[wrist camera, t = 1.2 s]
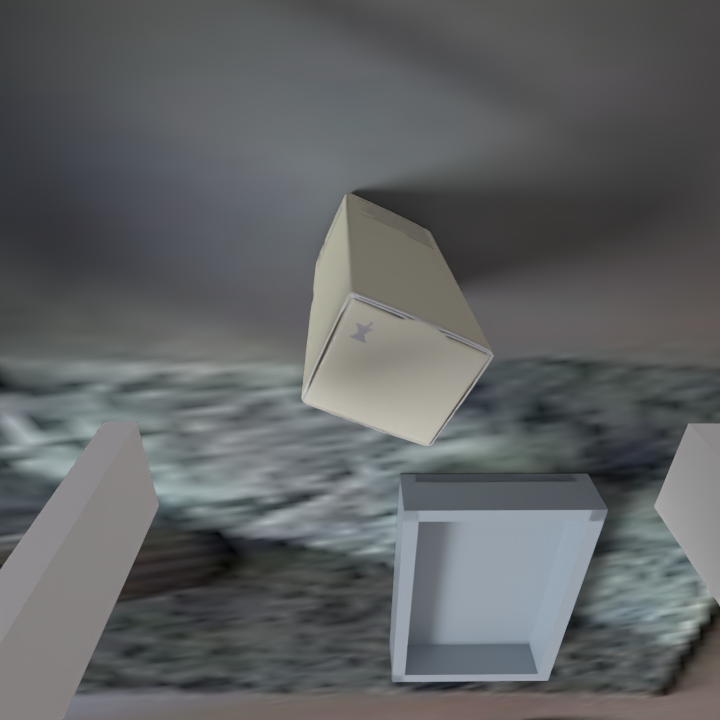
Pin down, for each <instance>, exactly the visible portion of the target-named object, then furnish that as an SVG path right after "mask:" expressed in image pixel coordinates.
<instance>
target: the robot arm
mask: <svg viewBox="0 0 720 720" xmlns="http://www.w3.org/2000/svg"><path fill="white" fill-rule="evenodd" d="M158 507H159V503H158V500H157V496H156V492H155V488H154V485H153V481H152V477H151V474H150V470H149V466H148V463H147V459H146V455H145V451H144V448H143V444H142V440H141V437H140V433H139V429H138V426H137V422H104V423H103V424H102V426H101V427H100V429H99V430H98V431H97V433H96V434H95V436H94V437H93V439H92V440H91V441H90V443H89V444H88V446H87V447H86V449H85V450H84V451H83V453H82V454H81V456H80V457H79V458H78V460H77V461H76V463H75V464H74V466H73V467H72V468H71V470H70V471H69V473H68V474H67V475H66V477H65V478H64V480H63V481H62V483H61V484H60V485H59V487H58V488H57V490H56V491H55V493H54V494H53V495H52V497H51V498H50V500H49V501H48V502H47V504H46V505H45V507H44V508H43V510H42V511H41V512H40V514H39V515H38V517H37V518H36V519H35V521H34V522H33V524H32V525H31V527H30V528H29V529H28V531H27V532H26V534H25V535H24V537H23V538H22V539H21V541H20V542H19V544H18V545H17V546H16V548H15V549H14V551H13V552H12V554H11V555H10V556H9V558H8V559H7V561H6V562H5V563H4V565H0V720H63V719H64V716H65V714H66V712H67V710H68V707H69V705H70V703H71V701H72V699H73V696H74V694H75V692H76V690H77V687H78V685H79V683H80V681H81V678H82V676H83V674H84V672H85V670H86V667H87V665H88V663H89V661H90V658H91V656H92V654H93V652H94V650H95V647H96V645H97V643H98V641H99V638H100V636H101V634H102V632H103V629H104V627H105V625H106V623H107V621H108V618H109V616H110V614H111V612H112V609H113V607H114V605H115V603H116V601H117V598H118V596H119V594H120V592H121V589H122V587H123V585H124V583H125V580H126V578H127V576H128V574H129V572H130V569H131V567H132V565H133V563H134V560H135V558H136V556H137V554H138V551H139V549H140V547H141V545H142V543H143V540H144V538H145V536H146V534H147V531H148V529H149V527H150V525H151V523H152V520H153V518H154V516H155V514H156V511H157V509H158ZM654 507H655V509H656V510H657V512H658V513H659V515H660V516H661V518H662V519H663V521H664V522H665V524H666V525H667V527H668V528H669V530H670V531H671V533H672V534H673V536H674V537H675V539H676V540H677V542H678V543H679V545H680V547H681V548H682V550H683V551H684V553H685V554H686V556H687V557H688V559H689V560H690V562H691V563H692V565H693V566H694V568H695V569H696V571H697V572H698V574H699V575H700V577H701V578H702V580H703V581H704V583H705V584H706V586H707V587H708V589H709V590H710V592H711V593H712V595H713V596H714V598H715V599H716V601H717V602H718V604H719V605H720V424H688V426H687V428H686V431H685V433H684V436H683V438H682V440H681V443H680V445H679V448H678V450H677V452H676V455H675V457H674V460H673V462H672V465H671V467H670V469H669V472H668V474H667V477H666V479H665V481H664V484H663V486H662V489H661V491H660V494H659V496H658V498H657V501H656V503H655V506H654Z"/></svg>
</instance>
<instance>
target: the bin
mask: <svg viewBox="0 0 720 720" xmlns="http://www.w3.org/2000/svg"><path fill="white" fill-rule="evenodd" d="M607 512H608V509H607V507H606V505H605V503H604V502H603V500H602V498H601V496H600V494H599V493H598V491H597V489H596V487H595V486H594V484H593V482H592V480H591V479H590V477H589V475H588V474H400V482H399V498H398V515H397V531H396V548H395V564H394V581H393V598H392V614H391V631H390V654H391V671H392V682H432V681H548V679H549V676H550V673H551V670H552V667H553V664H554V662H555V659H556V656H557V653H558V650H559V647H560V645H561V642H562V639H563V636H564V633H565V631H566V628H567V625H568V622H569V619H570V616H571V614H572V611H573V608H574V605H575V602H576V599H577V597H578V594H579V591H580V588H581V585H582V582H583V580H584V577H585V574H586V571H587V568H588V566H589V563H590V560H591V557H592V554H593V551H594V549H595V546H596V543H597V540H598V537H599V534H600V532H601V529H602V526H603V523H604V520H605V518H606V515H607Z"/></svg>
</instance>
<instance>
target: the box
mask: <svg viewBox="0 0 720 720" xmlns="http://www.w3.org/2000/svg"><path fill="white" fill-rule="evenodd" d="M493 357H494V352H493V350H492V349H491V347H490V345H489V343H488V341H487V339H486V338H485V336H484V334H483V332H482V330H481V328H480V326H479V324H478V322H477V320H476V319H475V317H474V315H473V313H472V311H471V309H470V307H469V305H468V303H467V302H466V300H465V298H464V296H463V294H462V292H461V290H460V288H459V286H458V284H457V282H456V280H455V278H454V276H453V274H452V273H451V271H450V269H449V267H448V265H447V263H446V261H445V259H444V257H443V256H442V254H441V252H440V250H439V248H438V246H437V244H436V242H435V240H434V238H433V236H432V234H431V233H430V231H428V230H427V229H425V228H423V227H421V226H419V225H417V224H415V223H413V222H411V221H410V220H407V219H405V218H403V217H401V216H399V215H397V214H395V213H393V212H391V211H389V210H387V209H385V208H382V207H380V206H378V205H376V204H374V203H371V202H369V201H367V200H365V199H363V198H360V197H358V196H356V195H353V194H351V193H346V194H345V196H344V198H343V201H342V203H341V205H340V207H339V209H338V211H337V214H336V216H335V218H334V220H333V223H332V225H331V227H330V230H329V232H328V234H327V237H326V239H325V242H324V244H323V246H322V249H321V252H320V254H319V257H318V260H317V263H316V270H315V278H314V287H313V298H312V306H311V313H310V323H309V331H308V341H307V349H306V358H305V367H304V378H303V388H302V397H301V398H302V400H303V402H304V403H306V404H308V405H311V406H313V407H316V408H319V409H321V410H324V411H327V412H329V413H331V414H334V415H337V416H340V417H343V418H345V419H348V420H351V421H353V422H356V423H359V424H362V425H365V426H367V427H370V428H373V429H376V430H379V431H381V432H385V433H388V434H391V435H393V436H396V437H399V438H403V439H406V440H409V441H412V442H415V443H419V444H421V445H425V446H430V445H432V444H433V443H434V441H435V440H436V438H437V437H438V435H439V434H440V432H441V431H442V430H443V428H444V427H445V425H446V424H447V423H448V421H449V420H450V419H451V418H452V416H453V415H454V414H455V412H456V410H457V409H458V408H459V406H460V405H461V404H462V402H463V401H464V400H465V398H466V397H467V396H468V394H469V393H470V391H471V390H472V388H473V387H474V385H475V384H476V382H477V381H478V379H479V378H480V377H481V375H482V374H483V372H484V371H485V369H486V368H487V366H488V365H489V363H490V362H491V360H492V359H493Z"/></svg>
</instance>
